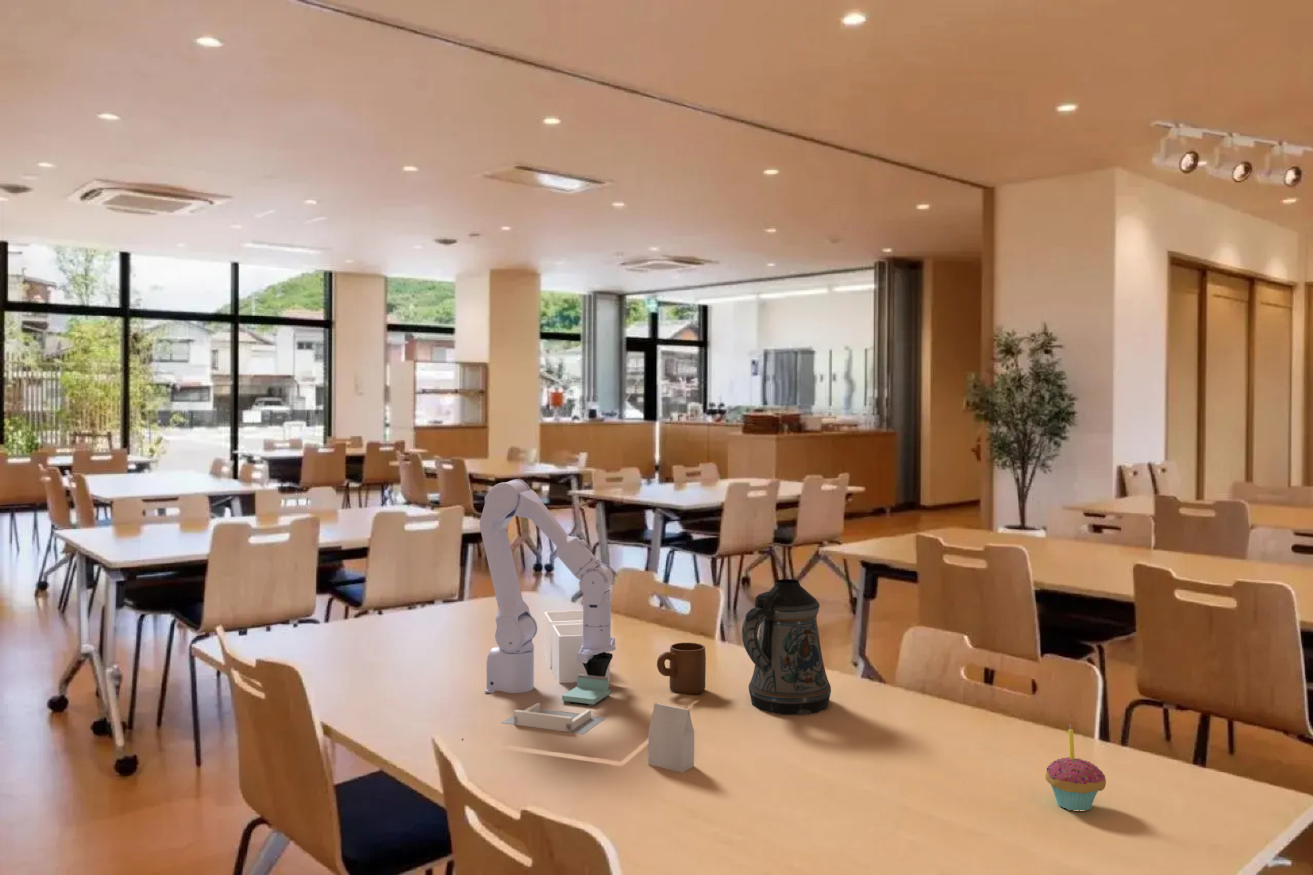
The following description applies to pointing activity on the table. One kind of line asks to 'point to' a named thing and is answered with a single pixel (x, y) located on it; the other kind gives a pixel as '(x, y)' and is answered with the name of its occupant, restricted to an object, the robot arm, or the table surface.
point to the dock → (554, 720)
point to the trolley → (588, 690)
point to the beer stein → (786, 652)
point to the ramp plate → (562, 711)
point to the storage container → (564, 644)
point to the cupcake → (1074, 780)
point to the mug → (685, 668)
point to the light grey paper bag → (671, 738)
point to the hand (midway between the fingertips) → (596, 689)
